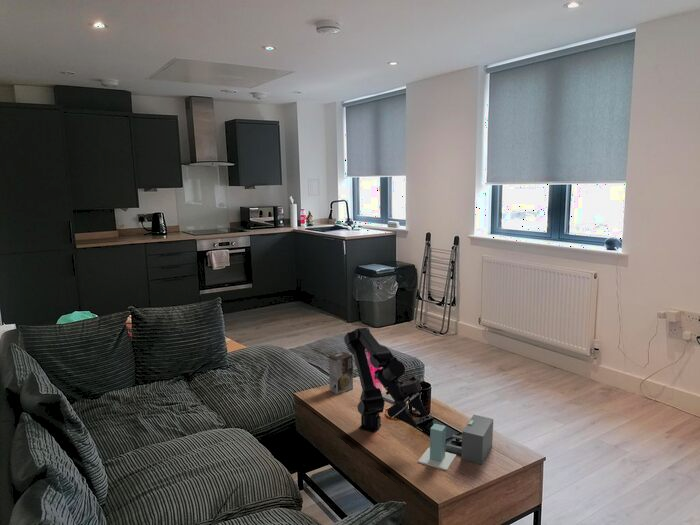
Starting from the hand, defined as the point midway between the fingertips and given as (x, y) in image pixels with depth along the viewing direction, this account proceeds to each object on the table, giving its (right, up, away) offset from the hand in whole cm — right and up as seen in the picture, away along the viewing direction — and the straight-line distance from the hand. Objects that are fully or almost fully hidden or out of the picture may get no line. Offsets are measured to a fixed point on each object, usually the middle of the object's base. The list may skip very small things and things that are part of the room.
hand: (421, 420), depth 168 cm
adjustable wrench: (-7, -6, +43) cm, 44 cm away
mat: (+5, -13, -1) cm, 14 cm away
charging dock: (+17, -12, +5) cm, 21 cm away
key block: (+5, -12, -1) cm, 13 cm away
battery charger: (+4, -6, +41) cm, 42 cm away
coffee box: (-28, -4, +56) cm, 63 cm away
